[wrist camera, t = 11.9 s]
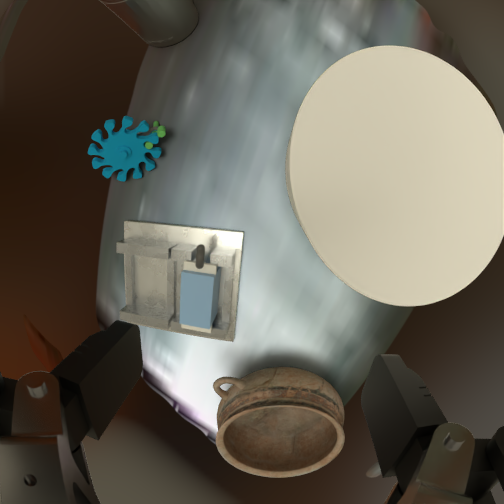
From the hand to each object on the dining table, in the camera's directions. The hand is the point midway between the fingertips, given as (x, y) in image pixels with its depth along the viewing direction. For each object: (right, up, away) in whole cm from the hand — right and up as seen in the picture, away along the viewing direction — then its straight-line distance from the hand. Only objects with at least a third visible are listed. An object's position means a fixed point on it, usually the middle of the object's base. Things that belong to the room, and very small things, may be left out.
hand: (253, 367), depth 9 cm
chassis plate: (-10, 0, +32) cm, 34 cm away
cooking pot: (+5, -20, +36) cm, 41 cm away
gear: (-16, +18, +28) cm, 37 cm away
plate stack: (+18, +14, +27) cm, 35 cm away
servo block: (-6, 0, +30) cm, 31 cm away
